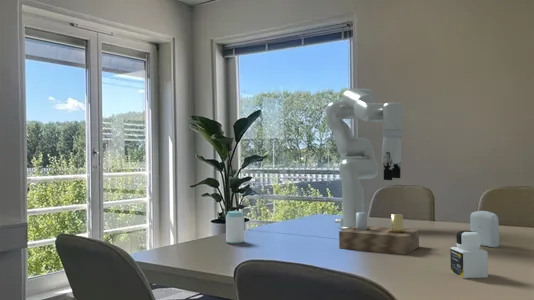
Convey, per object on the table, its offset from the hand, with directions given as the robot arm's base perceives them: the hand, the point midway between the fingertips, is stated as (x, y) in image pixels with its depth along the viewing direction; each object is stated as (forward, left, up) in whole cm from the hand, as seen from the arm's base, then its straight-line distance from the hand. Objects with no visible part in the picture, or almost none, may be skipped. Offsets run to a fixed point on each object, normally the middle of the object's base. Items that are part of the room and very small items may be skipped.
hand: (392, 179), depth 183 cm
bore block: (0, -15, -24) cm, 28 cm away
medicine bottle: (+34, -41, -24) cm, 58 cm away
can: (-52, -31, -24) cm, 66 cm away
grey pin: (-7, -15, -22) cm, 27 cm away
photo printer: (+32, +6, -24) cm, 40 cm away
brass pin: (+6, -15, -22) cm, 27 cm away
